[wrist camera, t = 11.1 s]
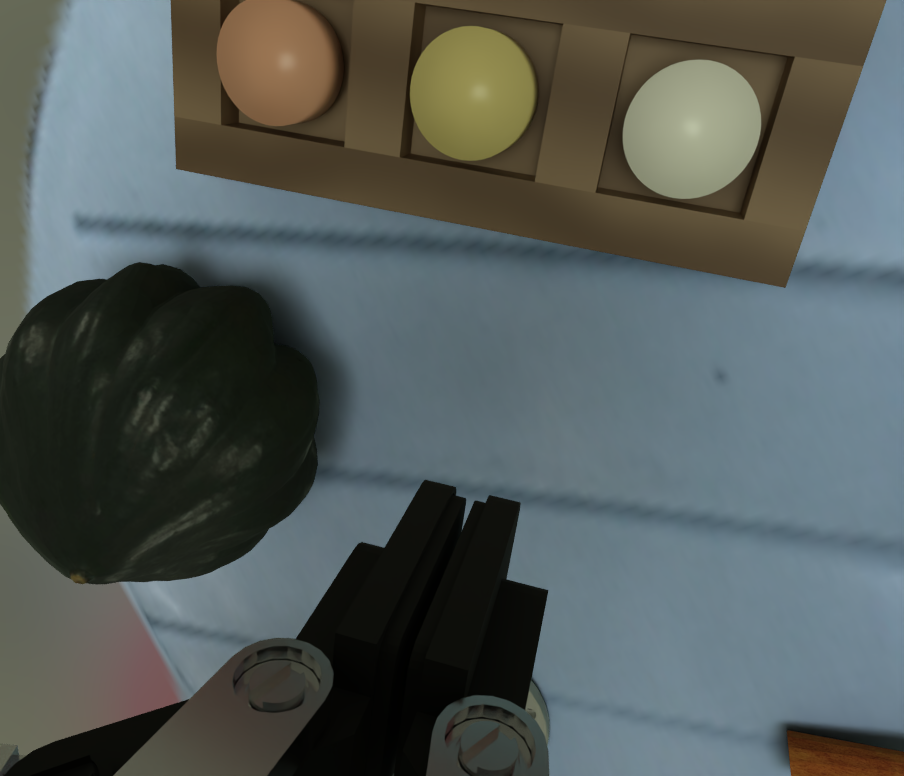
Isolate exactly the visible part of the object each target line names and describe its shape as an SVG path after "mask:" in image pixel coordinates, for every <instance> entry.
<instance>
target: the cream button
mask: <svg viewBox="0 0 904 776" xmlns="http://www.w3.org/2000/svg"><path fill="white" fill-rule="evenodd" d="M760 130H761V113H760V107H759V103H758V100H757V97H756V95H755V93H754V91H753V89H752V88H751V86H750V85H749V83H748V82H747V81H746V80H745V79H744V78H743V76H742V75H740V74H739V73H738V72H737V71H735V70H734V69H732V68H730V67H729V66H727V65H724V64H722V63H719V62H715V61H711V60H688V61H683V62H678V63H675V64H672V65H670V66H668V67H666V68H664V69H662V70H660V71H659V72H657V73H656V74H654V75H653V76H652V77H651V78H650V79H648V80H647V81H646V82H645V84H644V85H643V86H642V87H641V88H640V89H639V91H638V92H637V94H636V95H635V97H634V99H633V100H632V102H631V104H630V106H629V109H628V111H627V114H626V117H625V121H624V126H623V148H624V152H625V156H626V159H627V162H628V164H629V166H630V168H631V170H632V171H633V173H634V174H635V175H636V177H637V178H638V179H639V180H640V181H641V182H642V183H643V184H644V185H645V186H647V187H648V188H649V189H651V190H653V191H654V192H656V193H659V194H661V195H664V196H667V197H671V198H678V199H691V198H698V197H702V196H706V195H709V194H711V193H714V192H716V191H718V190H720V189H721V188H723V187H725V186H726V185H728V184H729V183H730V182H732V181H733V180H734V179H735V178H736V177H737V176H738V175H739V174H740V173H741V172H742V171H743V170H744V168H745V167H746V166H747V164H748V163H749V161H750V160H751V158H752V156H753V154H754V152H755V149H756V147H757V144H758V141H759V136H760Z"/></svg>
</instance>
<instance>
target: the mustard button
mask: <svg viewBox="0 0 904 776" xmlns="http://www.w3.org/2000/svg"><path fill="white" fill-rule="evenodd" d="M538 97H539V85H538V78H537V74H536V70H535V68H534V65H533V63H532V61H531V59H530V57H529V55H528V54H527V52H526V51H525V50H524V48H523V47H522V46H521V45H520V44H519V43H518V42H517V41H515V40H514V39H513V38H512V37H510V36H508V35H506V34H505V33H502V32H500V31H497V30H493V29H488V28H484V27H479V26H463V27H458V28H454V29H452V30H449V31H447V32H445V33H443V34H441V35H440V36H438V37H437V38H436V39H434V40H433V41H432V42H431V43H430V44H429V45H428V46H427V47H426V49H425V50H424V51H423V52H422V54H421V56H420V57H419V59H418V61H417V63H416V66H415V68H414V71H413V74H412V78H411V85H410V103H411V108H412V113H413V116H414V119H415V121H416V124H417V126H418V128H419V130H420V131H421V133H422V135H423V136H424V137H425V138H426V140H427V141H428V142H429V143H430V144H431V145H432V146H433V147H435V148H436V149H437V150H439V151H440V152H442V153H443V154H445V155H447V156H450V157H452V158H455V159H459V160H466V161H476V160H482V159H486V158H489V157H492V156H494V155H496V154H498V153H500V152H502V151H504V150H505V149H507V148H509V147H510V146H512V145H513V144H514V143H516V142H517V141H518V140H519V139H520V138H521V137H522V136H523V135H524V133H525V132H526V131H527V129H528V128H529V126H530V124H531V122H532V120H533V118H534V115H535V112H536V109H537V104H538Z"/></svg>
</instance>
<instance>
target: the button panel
mask: <svg viewBox="0 0 904 776" xmlns="http://www.w3.org/2000/svg"><path fill="white" fill-rule="evenodd" d="M243 1H245V0H171V24H172V55H173V86H174V116H175V147H176V169H179V170H184V171H189V172H195V173H200V174H205V175H210V176H215V177H220V178H225V179H230V180H236V181H241V182H246V183H251V184H256V185H261V186H266V187H271V188H277V189H282V190H287V191H292V192H297V193H302V194H307V195H312V196H318V197H323V198H328V199H333V200H338V201H343V202H348V203H353V204H359V205H364V206H369V207H374V208H379V209H384V210H389V211H395V212H400V213H405V214H410V215H415V216H420V217H425V218H430V219H436V220H441V221H446V222H451V223H456V224H461V225H466V226H471V227H477V228H482V229H487V230H492V231H497V232H502V233H507V234H512V235H518V236H523V237H528V238H533V239H538V240H543V241H548V242H553V243H559V244H564V245H569V246H574V247H579V248H584V249H589V250H595V251H600V252H605V253H610V254H615V255H620V256H625V257H630V258H636V259H641V260H646V261H651V262H656V263H661V264H666V265H671V266H677V267H682V268H687V269H692V270H697V271H702V272H707V273H712V274H718V275H723V276H728V277H733V278H738V279H743V280H748V281H753V282H759V283H764V284H769V285H774V286H779V287H784V288H785V287H786V285H787V282H788V279H789V276H790V273H791V270H792V267H793V265H794V262H795V259H796V256H797V253H798V250H799V248H800V245H801V242H802V239H803V236H804V233H805V230H806V228H807V225H808V222H809V219H810V216H811V213H812V211H813V208H814V205H815V202H816V199H817V196H818V194H819V191H820V188H821V185H822V182H823V179H824V176H825V174H826V171H827V168H828V165H829V162H830V159H831V157H832V154H833V151H834V148H835V145H836V142H837V139H838V137H839V134H840V131H841V128H842V125H843V122H844V120H845V117H846V114H847V111H848V108H849V105H850V102H851V100H852V97H853V94H854V91H855V88H856V85H857V83H858V80H859V77H860V74H861V71H862V68H863V65H864V63H865V60H866V57H867V54H868V51H869V48H870V46H871V43H872V40H873V37H874V34H875V31H876V28H877V26H878V23H879V20H880V17H881V14H882V11H883V9H884V6H885V3H886V0H295V1H300V2H302V3H305V4H307V5H309V6H311V7H313V8H314V9H316V10H317V11H318V12H319V13H321V14H322V15H323V16H324V17H325V18H326V20H327V21H328V22H329V24H330V25H331V26H332V28H333V30H334V31H335V33H336V35H337V38H338V40H339V43H340V46H341V50H342V54H343V62H344V72H343V80H342V84H341V88H340V91H339V93H338V96H337V97H336V99H335V101H334V103H333V104H332V105H331V107H330V108H329V109H328V110H327V111H326V112H325V113H323V114H322V115H321V116H319V117H317V118H316V119H314V120H311V121H308V122H303V123H297V124H291V125H285V126H269V125H265V124H262V123H259V122H257V121H255V120H253V119H251V118H249V117H248V116H247V115H245V114H244V113H243V112H242V111H241V110H240V109H238V108H237V106H236V105H235V104H234V103H233V102H232V100H231V99H230V97H229V96H228V94H227V92H226V90H225V88H224V86H223V84H222V81H221V78H220V75H219V71H218V65H217V42H218V37H219V33H220V30H221V28H222V25H223V23H224V21H225V19H226V18H227V16H228V15H229V14H230V12H231V11H232V10H233V9H234V8H235V7H236V6H237V5H239V4H240V3H242V2H243ZM463 26H479V27H484V28H488V29H493V30H497V31H500V32H502V33H505V34H506V35H508V36H510V37H512V38H513V39H514V40H515V41H517V42H518V43H519V44H520V45H521V46H522V47H523V48H524V50H525V51H526V52H527V54H528V55H529V57H530V59H531V61H532V63H533V65H534V68H535V70H536V74H537V78H538V85H539V97H538V104H537V109H536V112H535V115H534V118H533V120H532V122H531V124H530V126H529V128H528V129H527V131H526V132H525V133H524V135H523V136H522V137H521V138H520V139H519V140H518V141H517V142H516V143H514V144H513V145H512V146H510V147H509V148H507V149H505V150H504V151H502V152H500V153H498V154H496V155H494V156H492V157H489V158H486V159H482V160H476V161H466V160H459V159H455V158H452V157H450V156H447V155H445V154H443V153H442V152H440V151H439V150H437V149H436V148H435V147H433V146H432V145H431V144H430V143H429V142H428V141H427V140H426V138H425V137H424V136H423V135H422V133H421V131H420V130H419V128H418V126H417V124H416V121H415V119H414V116H413V113H412V108H411V103H410V85H411V78H412V74H413V71H414V68H415V66H416V63H417V61H418V59H419V57H420V56H421V54H422V52H423V51H424V50H425V49H426V47H427V46H428V45H429V44H430V43H431V42H432V41H433V40H434V39H436V38H437V37H438V36H440V35H441V34H443V33H445V32H447V31H449V30H452V29H454V28H458V27H463ZM688 60H711V61H715V62H719V63H722V64H724V65H727V66H729V67H730V68H732V69H734V70H735V71H737V72H738V73H739V74H740V75H742V76H743V78H744V79H745V80H746V81H747V82H748V83H749V85H750V86H751V88H752V89H753V91H754V93H755V95H756V97H757V100H758V103H759V107H760V113H761V130H760V136H759V141H758V144H757V147H756V149H755V152H754V154H753V156H752V158H751V160H750V161H749V163H748V164H747V166H746V167H745V168H744V170H743V171H742V172H741V173H740V174H739V175H738V176H737V177H736V178H735V179H734V180H733V181H732V182H730V183H729V184H728V185H726V186H725V187H723V188H721V189H720V190H718V191H716V192H714V193H711V194H709V195H706V196H702V197H698V198H691V199H678V198H671V197H667V196H664V195H661V194H659V193H656V192H654V191H653V190H651V189H649V188H648V187H647V186H645V185H644V184H643V183H642V182H641V181H640V180H639V179H638V178H637V177H636V175H635V174H634V173H633V171H632V170H631V168H630V166H629V164H628V162H627V159H626V156H625V152H624V148H623V126H624V121H625V117H626V114H627V111H628V109H629V106H630V104H631V102H632V100H633V99H634V97H635V95H636V94H637V92H638V91H639V89H640V88H641V87H642V86H643V85H644V84H645V82H646V81H647V80H648V79H650V78H651V77H652V76H653V75H654V74H656V73H657V72H659V71H660V70H662V69H664V68H666V67H668V66H670V65H672V64H675V63H678V62H683V61H688Z"/></svg>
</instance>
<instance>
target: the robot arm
mask: <svg viewBox="0 0 904 776" xmlns="http://www.w3.org/2000/svg"><path fill="white" fill-rule="evenodd" d="M465 506H466V498H463V497H459V496H456V487H453V486H449V485H445V484H441V483H437V482H432V481H428V480H424V481H423V483H422V484H421V486H420V488H419V489H418V491H417V493H416V495H415V496H414V498H413V500H412V501H411V503H410V505H409V507H408V508H407V510H406V512H405V514H404V515H403V517H402V519H401V520H400V522H399V524H398V526H397V527H396V529H395V531H394V532H393V534H392V536H391V538H390V539H389V541H388V543H387V544H386V546H385V548H383V547H379V546H375V545H371V544H367V543H363V542H361V543H359V544H358V545H357V546H356V547H355V549H354V550H353V552H352V553H351V555H350V556H349V558H348V559H347V561H346V562H345V564H344V565H343V567H342V569H341V570H340V572H339V573H338V575H337V576H336V578H335V579H334V581H333V582H332V584H331V586H330V587H329V589H328V590H327V592H326V593H325V595H324V596H323V598H322V599H321V601H320V602H319V604H318V606H317V607H316V609H315V610H314V612H313V613H312V615H311V616H310V618H309V619H308V621H307V622H306V624H305V626H304V627H303V629H302V630H301V632H300V633H299V635H298V636H297V638H296V639H291V638H273V639H268V640H262V641H259V642H256V643H254V644H252V645H249V646H247V647H245V648H243V649H242V650H241V651H239V652H238V653H237V654H235V655H234V656H233V657H231V658H230V659H229V660H228V661H227V662H226V663H225V664H224V665H223V666H222V667H221V668H220V669H219V670H218V671H217V672H216V673H215V674H214V675H213V676H212V677H211V678H210V679H209V680H208V681H207V682H206V683H205V684H204V685H203V686H202V687H201V688H200V689H199V690H198V691H197V692H196V693H195V694H194V695H193V696H192V697H191V698H190V699H188V700H185V701H182V702H179V703H176V704H172V705H169V706H166V707H163V708H160V709H156V710H154V711H151V712H147V713H144V714H141V715H138V716H134V717H131V718H128V719H125V720H122V721H119V722H115V723H112V724H109V725H106V726H103V727H100V728H96V729H93V730H90V731H87V732H83V733H80V734H78V735H74V736H71V737H68V738H65V739H61V740H58V741H55V742H52V743H50V744H48V745H45V746H43V747H41V748H38V749H36V750H34V751H32V752H31V753H29V754H28V755H27V756H25V755H19V753H18V746H17V745H8V744H0V776H549V756H548V747H547V745H548V740H549V716H548V712H547V708H546V704H545V702H544V700H543V698H542V696H541V694H540V692H539V690H538V688H537V687H536V686H535V684H534V683H533V682H532V681H531V678H532V672H533V667H534V662H535V657H536V652H537V647H538V641H539V636H540V631H541V626H542V621H543V615H544V610H545V605H546V600H547V595H548V590H545V589H541V588H537V587H533V586H529V585H526V584H522V583H518V582H514V581H510V580H506V578H507V573H508V568H509V563H510V558H511V552H512V547H513V542H514V537H515V532H516V527H517V521H518V516H519V511H520V502H516V501H512V500H508V499H503V498H499V497H495V496H491V495H489V497H488V499H487V501H486V503H484V502H480V501H475V502H474V504H473V506H472V508H471V511H470V513H469V515H468V518H467V520H466V523H465V525H464V527H463V530H462V525H463V519H464V513H465Z"/></svg>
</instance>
